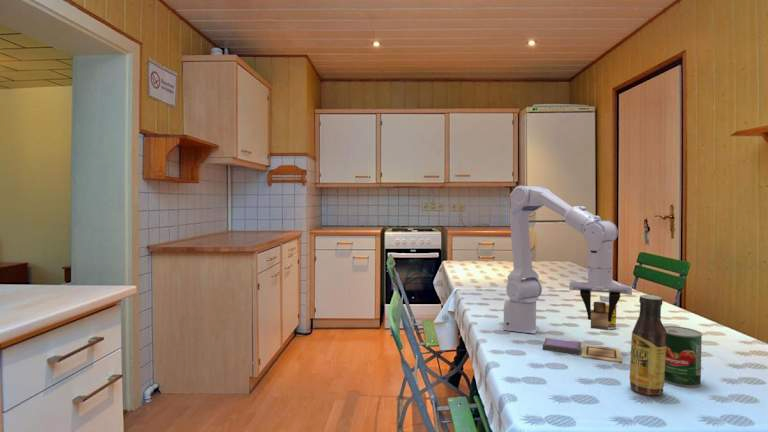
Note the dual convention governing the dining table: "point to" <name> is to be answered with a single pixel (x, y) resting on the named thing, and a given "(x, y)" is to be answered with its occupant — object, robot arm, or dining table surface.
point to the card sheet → (601, 353)
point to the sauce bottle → (648, 348)
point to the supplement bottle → (605, 299)
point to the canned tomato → (683, 356)
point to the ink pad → (562, 346)
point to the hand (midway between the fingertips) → (599, 319)
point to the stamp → (599, 316)
